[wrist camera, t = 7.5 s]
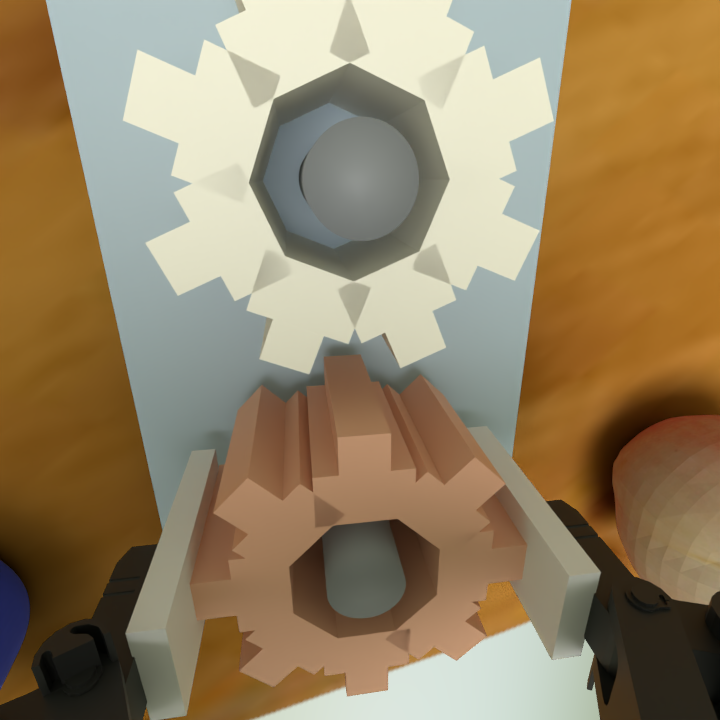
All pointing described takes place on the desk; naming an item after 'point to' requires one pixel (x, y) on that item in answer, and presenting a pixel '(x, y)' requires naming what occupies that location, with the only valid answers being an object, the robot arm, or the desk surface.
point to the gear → (364, 99)
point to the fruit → (672, 505)
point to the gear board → (307, 219)
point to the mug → (11, 617)
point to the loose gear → (347, 506)
